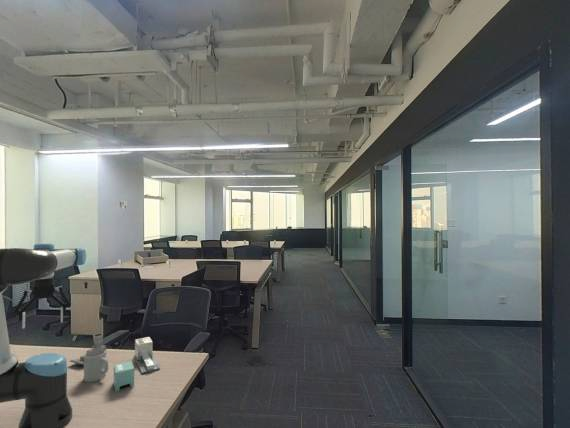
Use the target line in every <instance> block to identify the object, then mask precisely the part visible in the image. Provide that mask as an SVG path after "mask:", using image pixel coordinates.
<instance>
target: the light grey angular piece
mask: <svg viewBox="0 0 570 428" xmlns="http://www.w3.org/2000/svg"><path fill="white" fill-rule="evenodd" d="M153 344H154V343H153V340H152V339H151V337H150V336H145V337H141V338H137V339H134V355H133V358H134V361H135V362H136V364H137V366H138V369H139V372H140V374H141V375H145V374H148V373H151V372H155V371H160V370H161V369H160V366H159V364H158V362H157V360H156V359H155V357H154V355H153V352H154V351H153Z"/></svg>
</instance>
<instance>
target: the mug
mask: <svg viewBox="0 0 570 428" xmlns="http://www.w3.org/2000/svg"><path fill="white" fill-rule="evenodd" d="M86 352H87V351H86ZM86 352H85V353H84V354H83V355H84V364H83V381H84V382H87V383H93V382H97V381H101V380H102V379H104V378H105V377H106V376H107V375H106V374H107V373H108V371H109V361H108V359H107V357H106V356H107V350H106V351H105V350H103V349H98V350H92V351H89V352H87V353H86Z"/></svg>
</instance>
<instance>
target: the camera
mask: <svg viewBox="0 0 570 428" xmlns="http://www.w3.org/2000/svg"><path fill="white" fill-rule="evenodd" d="M92 337H93V339H92V340H93V348H90V349H88V350H87V351H86V352H85V354H86V353H87V352H89V351H92V350H98V349H103V350H105V351H106V352H107V345H105V344H103V339H104V334H103V333H102V332H99V333H95V334H93V336H92ZM85 354H83V355H81V356H79V358H75V359H71V360H69V362H70V363H73V364H77V365H82V366H84V355H85Z"/></svg>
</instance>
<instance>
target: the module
mask: <svg viewBox="0 0 570 428" xmlns="http://www.w3.org/2000/svg"><path fill="white" fill-rule="evenodd" d="M126 385H129V387H130V388H132V387H135V367H134V364H133V362H132V361H127V362H123V363H119V364H115V365H113V386H114V391H115V392H118V391H120V387H123V386H126Z"/></svg>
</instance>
